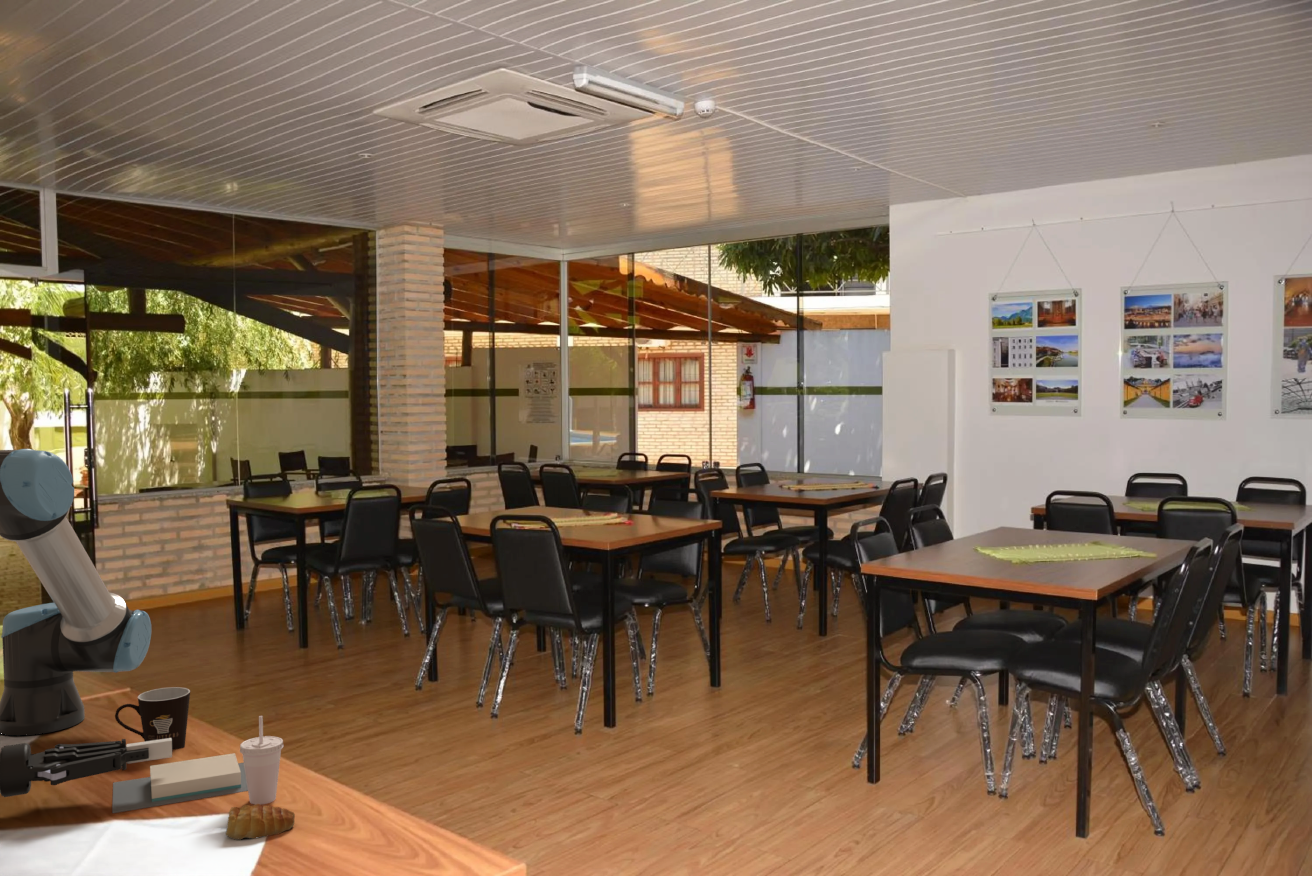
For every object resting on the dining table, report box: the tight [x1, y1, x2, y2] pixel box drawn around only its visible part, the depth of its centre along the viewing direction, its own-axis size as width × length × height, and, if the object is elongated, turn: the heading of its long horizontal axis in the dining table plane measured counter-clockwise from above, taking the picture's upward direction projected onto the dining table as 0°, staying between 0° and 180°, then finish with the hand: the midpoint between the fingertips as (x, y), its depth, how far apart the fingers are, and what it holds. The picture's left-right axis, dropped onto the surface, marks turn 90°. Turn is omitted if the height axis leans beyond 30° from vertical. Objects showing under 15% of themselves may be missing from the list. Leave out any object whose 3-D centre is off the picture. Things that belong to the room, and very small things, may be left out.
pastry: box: [225, 804, 296, 840], centre depth 153 cm, size 9×7×4 cm
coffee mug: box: [114, 686, 191, 751], centre depth 188 cm, size 12×9×10 cm
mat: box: [111, 762, 248, 814], centre depth 169 cm, size 14×20×1 cm
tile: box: [149, 752, 241, 802], centre depth 169 cm, size 10×2×13 cm
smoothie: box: [239, 715, 284, 805], centre depth 163 cm, size 6×6×14 cm
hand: (171, 747), depth 168 cm, fingers closed
